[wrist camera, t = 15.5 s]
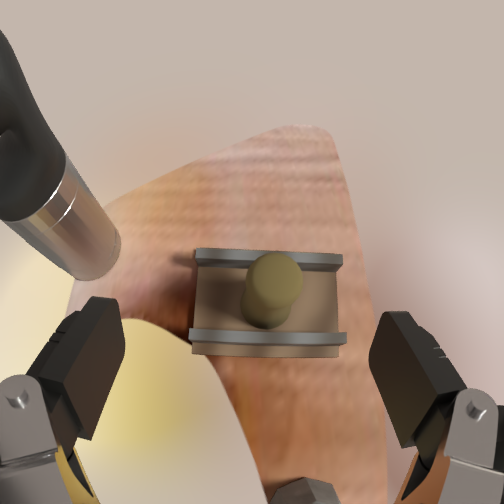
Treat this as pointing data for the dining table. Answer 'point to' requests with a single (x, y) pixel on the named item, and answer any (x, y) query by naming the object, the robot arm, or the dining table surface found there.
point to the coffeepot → (306, 493)
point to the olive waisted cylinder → (271, 290)
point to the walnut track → (260, 340)
